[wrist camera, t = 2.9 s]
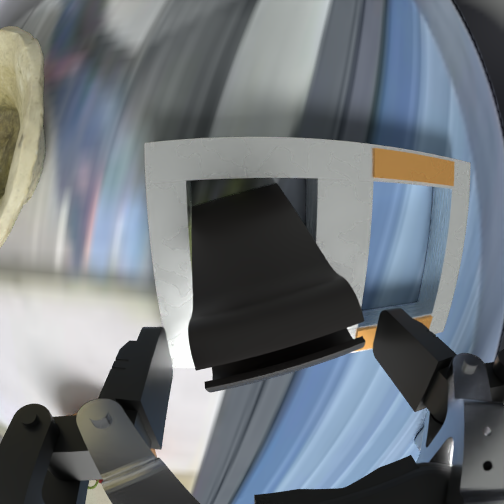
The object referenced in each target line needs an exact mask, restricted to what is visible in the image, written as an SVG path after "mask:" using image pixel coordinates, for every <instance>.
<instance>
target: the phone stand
mask: <svg viewBox="0 0 504 504" xmlns="http://www.w3.org/2000/svg"><path fill="white" fill-rule="evenodd" d="M192 289H193V310H192V316H191V319H190V321H189V325H188V339H189V347H190V352H191V356H192V360H193V363H194V367H195V369H196V370H200V369H205V368H210V367H212V372H213V380H212V381H207V382H205V389H206V390H207V391H208V392H215V391H220V390H225V389H229V388H234V387H238V386H242V385H247V384H251V383H255V382H259V381H263V380H266V379H270V378H274V377H277V376H281V375H284V374H288V373H291V372H295V371H298V370H301V369H304V368H308V367H311V366H314V365H317V364H320V363H323V362H326V361H329V360H331V359H334V358H337V357H340V356H343V355H345V354H348V353H351V352H353V351H356V350H359V349H361V348H363V347H364V345H365V342H366V341H365V339H364V338H363V336H361V337H358V338H356V339H353V337H352V336H351V335H350V333H349V331H348V329H347V328H348V327H351V326H353V325H356V324H359V323H361V322H364V317H363V313H362V309H361V306H360V304H359V301H358V299H357V296H356V294H355V292H354V290H353V289H352V287H351V285H350V284H349V282H348V281H347V280H346V279H345V278H344V277H342V276H340V275H339V274H338V273H336V272H335V270H334V269H333V268H332V267H331V266H330V264H329V263H328V261H327V260H326V258H325V256H324V255H323V253H322V251H321V250H320V248H319V247H318V245H317V243H316V242H315V240H314V239H313V237H312V236H311V234H310V232H309V231H308V229H307V228H306V226H305V225H304V223H303V222H302V220H301V219H300V217H299V216H298V214H297V212H296V211H295V209H294V208H293V206H292V205H291V203H290V202H289V200H288V199H287V197H286V196H285V195H284V193H283V192H282V190H281V189H280V187H279V186H278V184H277V183H275V184H271V185H267V186H263V187H260V188H256V189H252V190H248V191H245V192H241V193H237V194H234V195H230V196H227V197H223V198H220V199H216V200H213V201H209V202H206V203H203V204H199V205H196V206H193V207H192Z"/></svg>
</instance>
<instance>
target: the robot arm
mask: <svg viewBox="0 0 504 504" xmlns="http://www.w3.org/2000/svg"><path fill="white" fill-rule="evenodd" d="M373 353H374V356H375V358H376V359H377V361H378V362H379V363H380V365H381V366H382V368H383V369H384V370H385V372H386V373H387V374H388V376H389V377H390V378H391V380H392V381H393V382H394V384H395V385H396V387H397V388H398V389H399V391H400V392H401V393H402V395H403V396H404V398H405V399H406V400H407V402H408V403H409V405H410V406H411V407H412V409H413V410H414V412H417V411H419V410H422V409H424V408H426V407H427V409H428V412H427V414H426V416H425V423H424V428H423V429H422V430H421V431H420V433H419V434H418V435H417V437H416V439H415V444H416V446H417V447H418V449H419V451H420V454H419V457H418V459H417V461H416V463H415V461H414V459H413V458H412V456H411V455H410V456H408V457H405V458H403V459H401V460H398V461H396V462H393V463H390V464H388V465H385V466H382V467H380V468H378V469H376V470H375V471H373V472H371V473H370V474H368V475H366V476H365V477H363V478H361V479H360V480H358V481H356V482H354V483H353V484H351V485H349V486H347V487H344V488H339V489H296V490H290V491H284V492H277V493H269V494H260V495H254V499H255V504H504V349H503V350H501V351H500V352H499V353H498V356H497V358H496V360H495V362H491V363H484V362H483V361H482V360H481V359H480V358H479V357H477V356H475V355H472V354H468V353H461V354H458V355H456V354H455V353H454V352H453V351H452V350H451V349H450V348H449V347H448V346H447V345H446V344H445V343H444V342H442V341H441V340H440V339H439V338H438V337H436V335H435V334H434V333H433V332H431V331H429V329H428V328H427V327H426V326H425V325H424V324H423V323H421V322H419V321H417V320H415V319H413V318H412V317H411V316H409V315H408V314H407V313H406V312H405V311H404V310H403V309H401V308H393V309H387V310H383V311H382V312H381V313H380V315H379V320H378V324H377V329H376V333H375V337H374V342H373ZM172 376H173V369H172V361H171V356H170V351H169V346H168V341H167V336H166V331H165V329H164V327H143V328H142V329H141V332H140V334H139V337H138V339H137V341H129V342H127V343H126V344H125V345H124V346H123V347H122V348H121V349H120V350H119V352H118V355H117V357H116V361H114V363H113V366H112V369H111V370H110V372H109V375H108V377H107V379H106V381H105V384H104V386H103V388H102V391H101V393H100V396H99V398H98V399H95V400H92V401H89V402H87V403H86V404H84V405H83V406H82V407H81V408H80V409H79V411H78V413H77V415H72V416H59V417H52V415H51V414H50V412H49V410H48V409H47V408H46V407H44V406H42V405H40V404H29V405H26V406H24V407H22V408H20V409H19V410H18V411H17V412H16V413H15V415H14V417H13V419H12V421H11V423H10V425H9V427H8V429H7V431H6V433H5V435H4V437H3V439H2V441H1V444H0V504H85V501H86V495H87V489H88V484H89V480H99V479H103V481H102V486H103V488H104V490H105V492H106V494H107V496H108V497H109V499H110V501H111V502H112V504H200V503H199V502H198V501H197V500H196V499H195V498H194V497H193V496H192V495H191V493H190V492H189V491H188V490H187V489H186V488H185V487H184V486H183V485H182V484H181V482H180V481H179V480H178V479H177V478H176V477H175V476H174V474H173V473H172V472H171V471H170V470H169V468H168V467H167V466H166V465H165V464H164V462H163V461H162V460H161V459H160V458H157V457H156V456H155V455H154V454H153V452H152V451H151V450H150V449H161V448H162V441H163V434H164V427H165V420H166V413H167V407H168V401H169V395H170V389H171V383H172Z"/></svg>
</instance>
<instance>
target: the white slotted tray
mask: <svg viewBox="0 0 504 504" xmlns="http://www.w3.org/2000/svg"><path fill="white" fill-rule="evenodd" d="M144 149H145V180H146V198H147V212H148V224H149V235H150V245H151V254H152V262H153V270H154V277H155V284H156V291H157V298H158V304H159V310H160V316H161V322H162V327H164V329H165V331H166V336H167V341H168V346H169V351H170V356H171V361H172V367H174V368H192V367H194V363H193V360H192V356H191V352H190V347H189V339H188V325H189V321H190V319H191V316H192V310H193V289H192V200H191V180H205V179H230V178H306V228H307V229H308V231H309V232H310V234H311V236H312V237H313V239H314V240H315V242H316V243H317V245H318V247H319V248H320V250H321V251H322V253H323V255H324V256H325V258H326V260H327V261H328V263H329V264H330V266H331V267H332V268H333V269H334V270H335V272H336V273H338V274H339V275H340V276H342V277H344V278H345V279H346V280H347V281H348V282H349V284H350V285H351V287H352V289H353V290H354V292H355V294H356V296H357V299H358V301H359V304H360V306H362V299H363V293H364V286H365V278H366V270H367V262H368V253H369V243H370V231H371V218H372V200H373V181H379V182H392V183H403V184H413V185H423V186H432V187H433V202H432V214H431V224H430V233H429V241H428V248H427V255H426V261H425V267H424V273H423V278H422V283H421V288H420V293H419V298H418V302H414V303H408V304H402V305H395V306H389V307H382V308H376V309H368V310H362V313H363V317H364V322H361V323H359V324H356V325H353V326H351V327H348V328H347V329H348V331H349V333H350V335H351V336H352V337H353V339H356V338H358V337H361V336H363V338H364V339H365V341H366V342H365V345H364V347H363V348H361V349H359V350H356V351H353V352H351V353H354V352H359V351H364V350H370V349H373V342H374V337H375V333H376V329H377V324H378V320H379V315H380V313H381V312H382V311H383V310H387V309H393V308H401V309H403V310H404V311H405V312H406V313H407V314H408V315H409V316H411V317H412V318H413V319H415V320H417V321H419V322H421V323H423V324H424V325H425V326H426V327H427V328H428V329H429V331H431V332H433V333H434V334H437V333H440V332H443V330H444V327H445V324H446V321H447V317H448V314H449V310H450V307H451V303H452V299H453V295H454V291H455V287H456V283H457V278H458V273H459V268H460V263H461V258H462V252H463V246H464V240H465V233H466V225H467V216H468V205H469V191H470V163H469V162H465V161H461V160H457V159H453V158H448V157H444V156H439V155H434V154H429V153H424V152H419V151H414V150H408V149H402V148H396V147H389V146H382V145H375V144H367V143H358V142H349V141H338V140H326V139H312V138H292V137H215V138H195V139H181V140H169V141H158V142H149V143H144Z"/></svg>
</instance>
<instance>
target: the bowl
mask: <svg viewBox="0 0 504 504" xmlns="http://www.w3.org/2000/svg"><path fill="white" fill-rule="evenodd" d="M43 68H44V57H43V53H42V50H41V47H40V45H39V42H38V40H37V39H34V38H33V36H32V35H31V34H30V33H28V32H26V31H24V30H22V29H20V28H18V27H13V26H7V27H4V28H1V29H0V248H1V246H2V245H3V244H4V242H5V241H6V239H7V237H8V236H9V234H10V232H11V230H12V228H13V226H14V223H15V221H16V220H17V217H18V215H19V214H20V212H21V210H22V207H23V205H24V204H26V203H27V202H28V200H29V199H30V198H31V197H32V195H33V193H34V191H35V189H36V187H37V184H38V182H39V179H40V175H41V173H42V169H43V161H44V157H45V137H44V128H43V116H44V106H43V89H44V88H43V87H44V72H43Z"/></svg>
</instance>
